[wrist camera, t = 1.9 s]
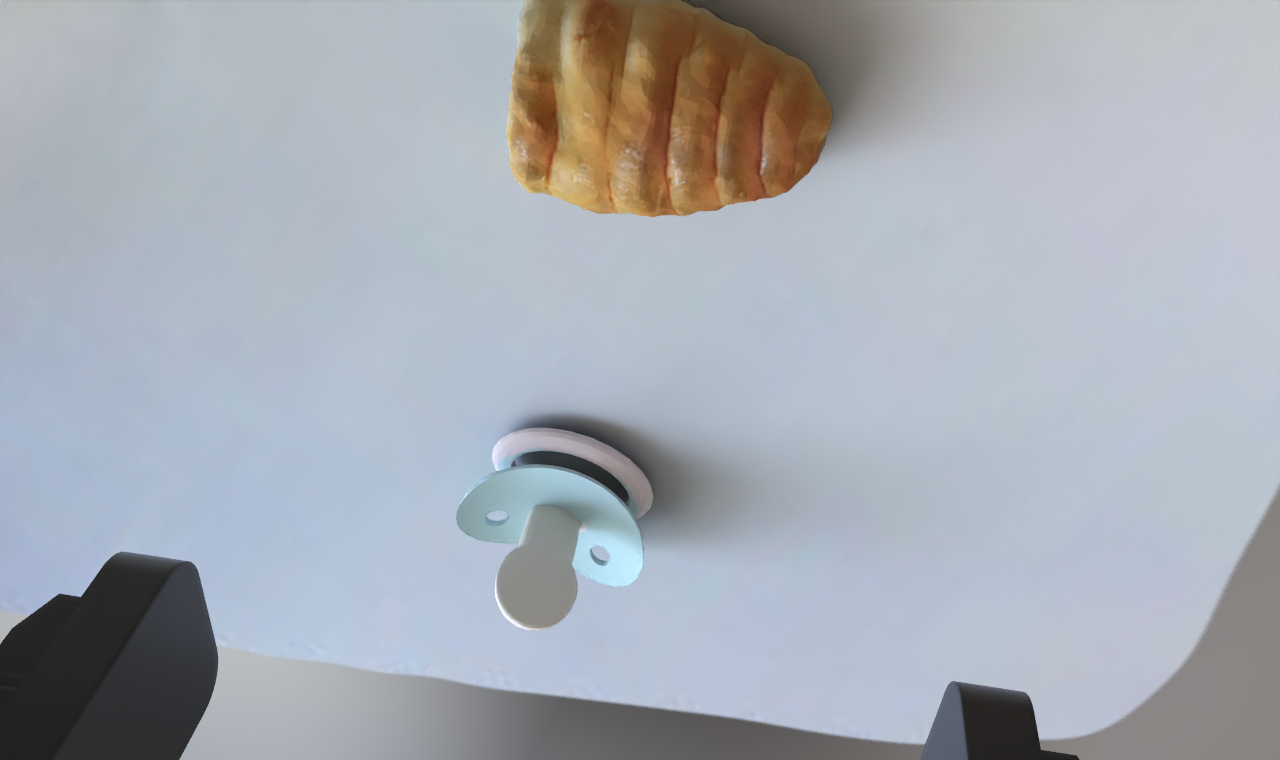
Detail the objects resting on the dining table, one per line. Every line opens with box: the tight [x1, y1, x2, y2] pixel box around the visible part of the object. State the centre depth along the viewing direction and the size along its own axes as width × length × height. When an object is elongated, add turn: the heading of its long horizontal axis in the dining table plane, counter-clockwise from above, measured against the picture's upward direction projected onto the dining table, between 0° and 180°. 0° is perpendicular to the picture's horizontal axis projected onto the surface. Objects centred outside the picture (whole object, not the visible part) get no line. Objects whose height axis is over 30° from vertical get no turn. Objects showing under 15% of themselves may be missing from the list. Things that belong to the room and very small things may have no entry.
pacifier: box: [456, 428, 654, 631], centre depth 41 cm, size 7×6×6 cm
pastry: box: [506, 0, 832, 217], centre depth 32 cm, size 9×7×4 cm
